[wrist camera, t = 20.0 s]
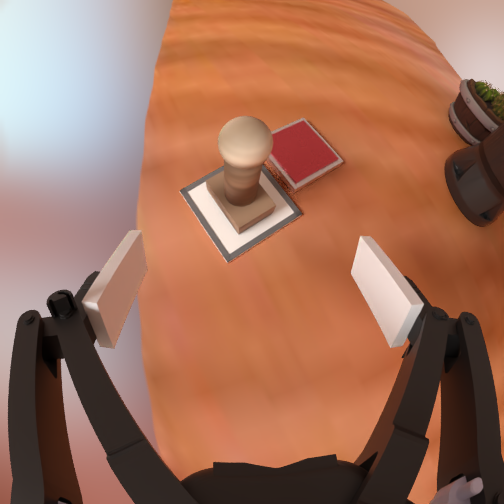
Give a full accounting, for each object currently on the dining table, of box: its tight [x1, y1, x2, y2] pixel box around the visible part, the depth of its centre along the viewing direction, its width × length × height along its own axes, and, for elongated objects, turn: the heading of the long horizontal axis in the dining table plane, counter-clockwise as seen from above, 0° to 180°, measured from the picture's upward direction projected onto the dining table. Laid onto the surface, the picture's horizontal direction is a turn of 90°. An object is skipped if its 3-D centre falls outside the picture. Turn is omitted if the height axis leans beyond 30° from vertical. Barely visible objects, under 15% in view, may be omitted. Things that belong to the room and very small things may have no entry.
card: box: [180, 165, 302, 264], centre depth 34 cm, size 11×11×1 cm
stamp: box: [206, 116, 276, 235], centre depth 27 cm, size 7×5×15 cm
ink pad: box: [266, 118, 343, 193], centre depth 36 cm, size 9×9×2 cm
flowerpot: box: [449, 79, 504, 146], centre depth 35 cm, size 15×15×20 cm
